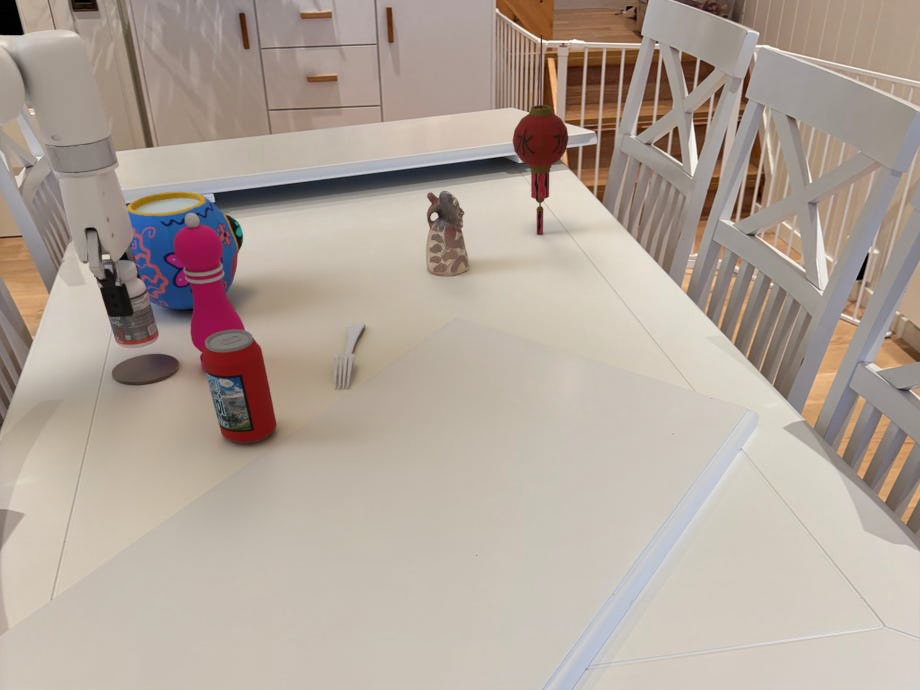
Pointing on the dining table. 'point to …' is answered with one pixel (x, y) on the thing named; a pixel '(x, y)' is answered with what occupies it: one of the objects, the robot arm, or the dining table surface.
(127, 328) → the pill bottle
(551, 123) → the lantern
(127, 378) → the coaster
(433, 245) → the figurine
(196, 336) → the pepper mill
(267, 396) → the beverage can
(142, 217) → the ceramic pot
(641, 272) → the dining table surface
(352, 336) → the fork
